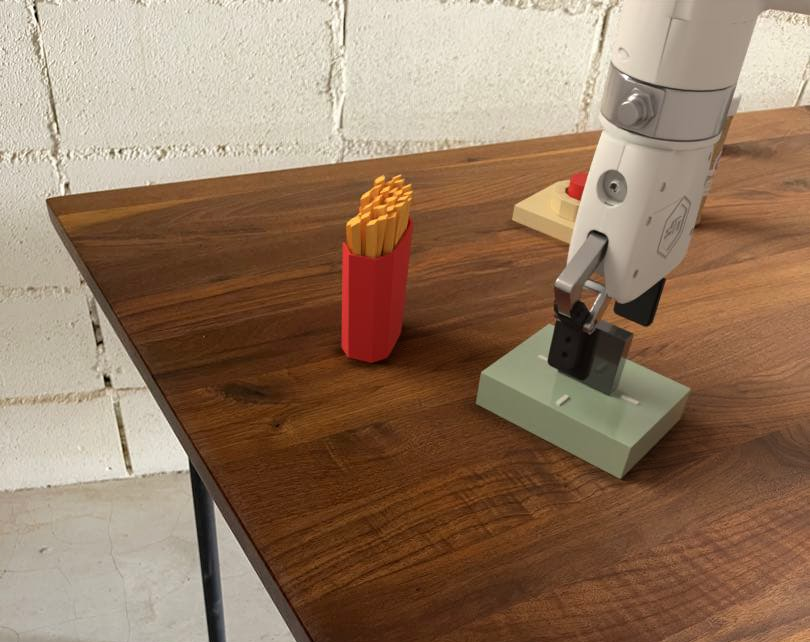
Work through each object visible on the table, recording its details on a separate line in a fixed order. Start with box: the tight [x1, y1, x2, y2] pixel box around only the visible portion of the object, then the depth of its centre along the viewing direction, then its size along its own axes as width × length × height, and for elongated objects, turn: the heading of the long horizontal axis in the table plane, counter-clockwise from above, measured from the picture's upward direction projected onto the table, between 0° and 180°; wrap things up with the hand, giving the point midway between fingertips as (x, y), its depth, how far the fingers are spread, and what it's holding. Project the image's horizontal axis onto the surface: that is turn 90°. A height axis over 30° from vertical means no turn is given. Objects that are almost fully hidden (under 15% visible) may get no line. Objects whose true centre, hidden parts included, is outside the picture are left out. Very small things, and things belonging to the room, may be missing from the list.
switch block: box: [511, 179, 581, 245], centre depth 93 cm, size 11×9×4 cm
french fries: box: [341, 173, 414, 364], centre depth 70 cm, size 9×4×13 cm, turn 165°
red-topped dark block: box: [557, 318, 635, 395], centre depth 66 cm, size 5×1×5 cm, turn 52°
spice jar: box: [694, 88, 742, 227], centre depth 92 cm, size 5×5×13 cm
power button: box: [567, 172, 589, 201], centre depth 91 cm, size 4×4×2 cm
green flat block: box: [475, 323, 692, 480], centre depth 69 cm, size 13×10×3 cm
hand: (601, 344), depth 66 cm, fingers open, 9 cm apart
